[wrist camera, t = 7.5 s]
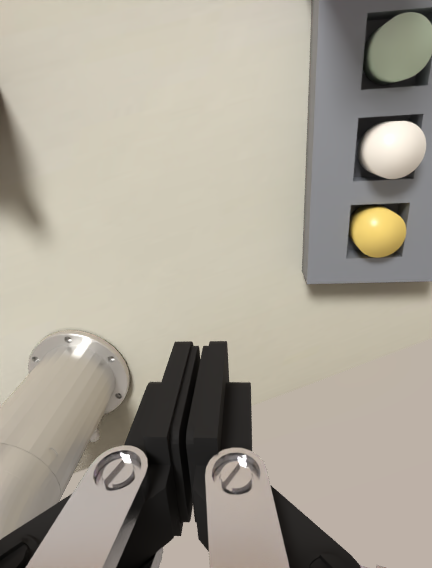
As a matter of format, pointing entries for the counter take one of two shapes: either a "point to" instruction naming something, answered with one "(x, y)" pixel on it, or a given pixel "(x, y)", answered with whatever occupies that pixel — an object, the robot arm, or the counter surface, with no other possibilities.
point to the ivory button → (392, 149)
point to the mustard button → (376, 230)
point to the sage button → (398, 49)
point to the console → (344, 145)
